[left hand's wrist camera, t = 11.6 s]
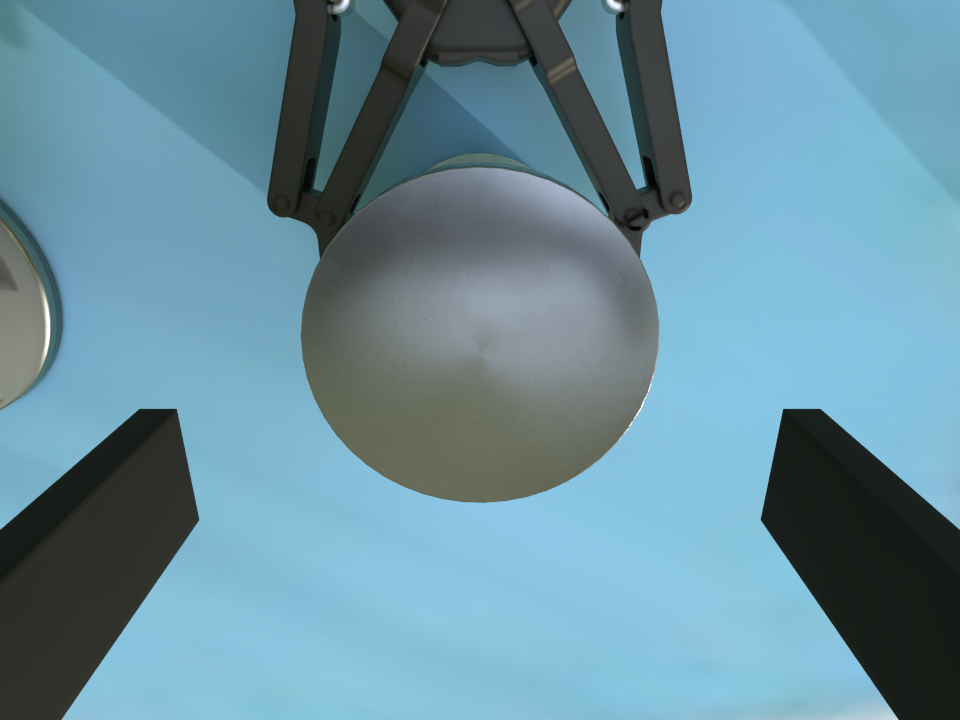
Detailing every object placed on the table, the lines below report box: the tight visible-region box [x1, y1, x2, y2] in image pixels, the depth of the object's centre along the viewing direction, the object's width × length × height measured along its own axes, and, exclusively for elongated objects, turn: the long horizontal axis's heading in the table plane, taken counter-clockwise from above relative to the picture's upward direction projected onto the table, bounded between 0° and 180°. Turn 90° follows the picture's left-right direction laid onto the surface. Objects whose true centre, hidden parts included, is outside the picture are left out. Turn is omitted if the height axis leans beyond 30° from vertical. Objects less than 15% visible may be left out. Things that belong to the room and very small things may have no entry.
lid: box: [301, 162, 659, 503], centre depth 20 cm, size 11×11×2 cm
